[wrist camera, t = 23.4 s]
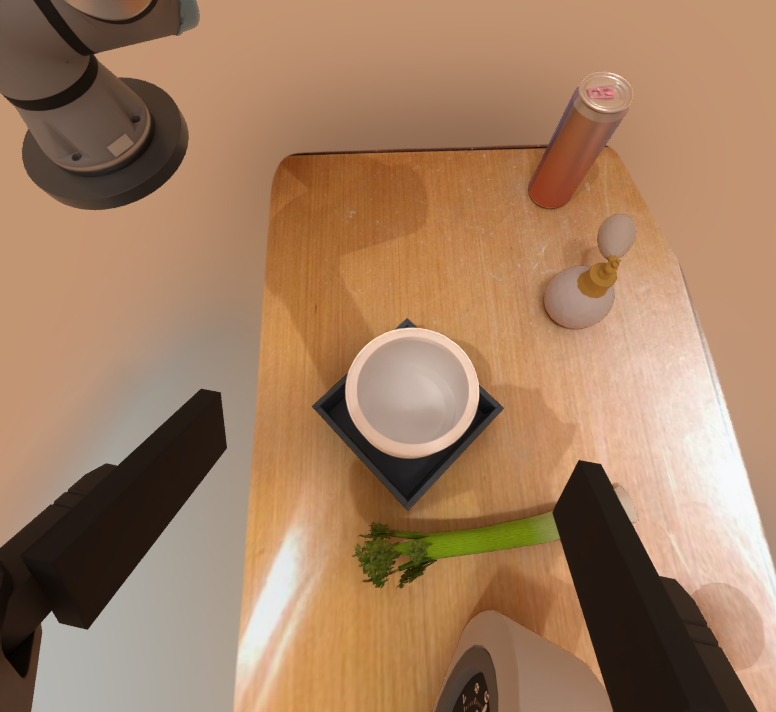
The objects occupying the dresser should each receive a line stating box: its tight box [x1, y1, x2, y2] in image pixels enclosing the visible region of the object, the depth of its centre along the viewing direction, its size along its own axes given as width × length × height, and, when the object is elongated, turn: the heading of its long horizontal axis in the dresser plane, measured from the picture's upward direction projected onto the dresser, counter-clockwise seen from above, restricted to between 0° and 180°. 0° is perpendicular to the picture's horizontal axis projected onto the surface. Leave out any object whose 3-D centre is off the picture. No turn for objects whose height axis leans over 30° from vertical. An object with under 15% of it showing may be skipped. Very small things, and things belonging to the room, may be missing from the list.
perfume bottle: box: [544, 214, 637, 329], centre depth 42 cm, size 8×10×12 cm
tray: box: [312, 319, 504, 510], centre depth 41 cm, size 14×14×6 cm
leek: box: [353, 486, 639, 588], centre depth 38 cm, size 6×7×30 cm
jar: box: [345, 328, 479, 458], centre depth 36 cm, size 11×10×15 cm
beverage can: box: [529, 72, 634, 208], centre depth 45 cm, size 6×6×15 cm
